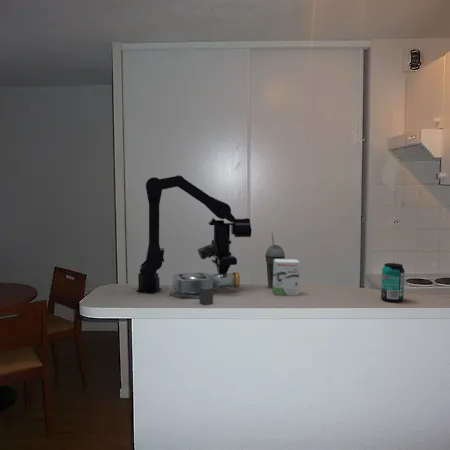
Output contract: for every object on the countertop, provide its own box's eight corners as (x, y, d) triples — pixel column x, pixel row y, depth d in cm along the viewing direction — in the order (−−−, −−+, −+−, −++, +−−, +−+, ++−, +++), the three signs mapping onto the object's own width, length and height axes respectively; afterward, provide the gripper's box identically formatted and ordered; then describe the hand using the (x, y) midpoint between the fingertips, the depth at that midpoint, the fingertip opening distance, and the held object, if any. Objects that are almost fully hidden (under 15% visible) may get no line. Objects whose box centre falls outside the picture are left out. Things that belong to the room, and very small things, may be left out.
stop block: (199, 303, 160) (199, 287, 160) (207, 301, 162) (207, 286, 161) (205, 304, 158) (205, 289, 157) (212, 303, 160) (212, 288, 159)
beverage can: (396, 297, 170) (398, 262, 168) (407, 302, 163) (409, 266, 162) (377, 298, 168) (378, 262, 167) (387, 303, 162) (388, 266, 160)
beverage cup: (283, 289, 179) (284, 234, 177) (263, 288, 180) (264, 233, 178) (285, 285, 186) (286, 232, 184) (265, 284, 187) (266, 231, 185)
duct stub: (169, 295, 169) (169, 278, 168) (183, 288, 180) (183, 271, 179) (201, 299, 165) (202, 281, 164) (214, 291, 176) (215, 274, 175)
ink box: (274, 295, 171) (274, 261, 170) (272, 291, 176) (272, 258, 175) (299, 295, 171) (300, 261, 170) (296, 291, 176) (297, 258, 175)
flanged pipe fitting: (177, 295, 165) (177, 279, 164) (171, 286, 177) (171, 271, 176) (242, 291, 171) (242, 275, 170) (232, 283, 183) (232, 269, 182)
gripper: (194, 234, 185) (194, 276, 186) (205, 241, 167) (205, 287, 168) (223, 234, 188) (222, 275, 189) (237, 240, 170) (237, 285, 171)
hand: (221, 280), depth 179 cm, fingers closed
